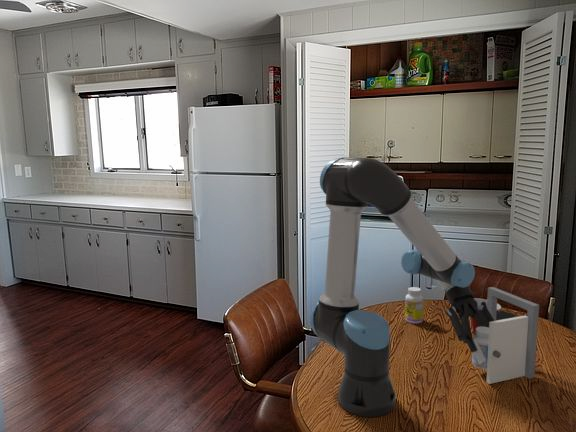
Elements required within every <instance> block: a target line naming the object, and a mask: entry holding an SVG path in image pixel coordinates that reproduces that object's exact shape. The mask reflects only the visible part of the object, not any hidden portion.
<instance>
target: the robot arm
mask: <svg viewBox="0 0 576 432" xmlns="http://www.w3.org/2000/svg"><path fill="white" fill-rule="evenodd" d="M319 186H320V189H321V190H322V192H323V193H324V195H326V196H325V206H327V208H328V209H329V211H330V213H329V214H330V215H329V226H328V228H329V229H328V240H327V241H328V242H327V252H326V253H327V254H326V255H327V256H326V257H327V258H326V271H325V279H324V280H325V281H324V292H323V294H320V296H319V298H318V301H317V303H316V304H315V307H313V308H312V309H311V313H310V318H309V319H310V321H309V322H310V327H311V329H312V332H313V333H314V334H315V335H316V336H317V337H318V338H319V339H320V340H321V341H322V342H324V343H326V344H328V345H329V346H331V347H332V348H333V349H335V350H336V351H338V352H340V354H342V355H343V356H344V373H343V376H342V379H341V382H340V384H339V387H338V392H337V396H338V397H337V400H338V403H339V406H340V407H341V408H343V410H345V411H346V412H348V413H351V414H353V415H356V416H360V417H365V418H366V417H367V418H375V417H381V416H385V415H387V414H389V413H391V412H392V411H393V410H394V409H395V406H396V393H395V388H394V386H393V383H392V380H391V377H390V351H391V350H390V349H391V348H390V346H391V345H390V344H391V333H390V326H389V323H388V321H387V319H385V317H384V316H382V315H381V314H379V313H377V312H374V311H373V310H372V311H368V310H367V309H360V300H359V298H357V297H356V294H355V293H356V280H357V279H356V278H357V269H358V256H359V255H358V254H359V243H360V242H359V241H360V240H359V239H360V230H361V219H362V213H363V212H364V211H365V210H366V209H367V208H368V205H371V206H372V207H374V208H375V209H376V210H377V211H378V212H379V213H380V214H381V215H382V216H385V217H388V218H389V219H390V220H391V221H392V222H393V223H394V225H395V226H396V227H397V228H398V229H399V230H400V232H401V233H402V234H403V235H404V236H405V237H406V238H407V240H408V241H409V242H410V243H411V245H412V246H414V248H415V249H409V250H406V251H405V252H403V254H402V256H401V261H400V263H401V268H402V270H403V271H404V272H405V273H407V274H410V275H411V274H412V275H422V276H425V277H428V278H430V279H434V280H437V281H438V282H439V284H440V287H441V288H442V291H443V292H444V293H445V296H446V299H447V301H448V303H449V304H450V305H451V306H450V307H448V308H447V309H446V310H445V314H446V315H447V317H448V318H449V320H450V322H451V325H452V327H453V329H454V332H455V334H456V337H457V339H458V341H459V342H463V344H467V346H468V348H469V350H470V352H471V353H472V352H474V354H475V357H476V359H477V361H478V363H479V364H482V363H483V362H485V361H486V358H485V356H484V354H483V352H482V350H481V348H480V346H479V344H478V342H477V340H476V339H473V334H472V333H473V332H472V328H471V325H470V323H471V322H470V319H471V318H472V319H474V320H475V321H476V322H477V323H478V324H479V326H480V327H481V326H482V327H488V328H489V322H492V321H494V319H493V317H492V316H491V314H490V312H489V311H488V309H487V306H486V303H485V302H482V303H478V302H477V301H476V300H474V299H475V298H474V293H473V291H472V290H471V289H472V288H471V287H470V285H471V284H472V283H473V281H474V279H475V275H476V271H475V266H474V265H473V264H472V263H471V262H468V261H466V260H461V259H460V258H459V256H458V255H457V254H456V253H455V252H454V251H453V249H452V248H451V247H450V246H449V244H448V243H447V242H446V240H445V239H444V238H443V237H442V235H441V234H440V233H439V231H438V230H437V229H436V228H435V227H434V225H433V224H432V223H431V221H430V220H429V219H428V218H427V216H426V215H425V214H424V213H423V211H422V210H421V208H419V206H418V205H417V204H416V203H415V201H414V200H413V199H412V195H413V194H412V191H411V189H410V188H409V187H408V185H407V184H406V183H405V182H404V180H403V179H401V177H400V176H399V175H398V174H397V173H396V172H395V171H394V170H393V169H391V167H389V166H388V165H387V164H386V163H384V162H382V161H380V160H378V159H377V158H376V159H375V158H372V157H348V156H344V157H337V158H334V159H332V160H330V161H328V163H327V164H325V165H324V166H323V168H322V170H321V172H320V177H319ZM477 308H478V309H477ZM475 314H476V315H475ZM469 318H470V319H469Z"/></svg>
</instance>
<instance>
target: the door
mask: <svg viewBox="0 0 576 432" xmlns="http://www.w3.org/2000/svg"><path fill="white" fill-rule="evenodd" d="M527 333H528V317H527V315H519V316H517V317H514V318H508V319H503V320H497V321H492V322H489V342H488V362H487V370H486V383H488V384H489V385H491V384H495V383H499V382H503V381H504V382H505V381H508V380H513V379H517V378H522V377H525V364H526V348H527Z"/></svg>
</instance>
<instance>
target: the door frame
mask: <svg viewBox="0 0 576 432" xmlns="http://www.w3.org/2000/svg"><path fill="white" fill-rule="evenodd" d="M498 299H499V300H502V301H504V302H506V303H508V304H511V305H514V306H517V308H518V307H519V308H521V309H524V310H526V311H527V314H526V316H527V317H528V333H527V348H526V364H525V376H524V377H525V378H527V379H529V380H530V379H533V378H535V372H536V360H537V359H536V358H537V357H536V355H537V346H538V345H537V343H538V330H539V329H538V328H539V314H540V304H538V303H535V302H532V301H530V300H527V299H524V298H522V297H520V296H518V295H515V294H512V293H510V292H508V291H504V290H503V289H499V288H497V287H495V286H492V287H487V298H486V300H487V309H488V311H489V312H490V314H491V316H492V317H493V319H494V321H496V313H497V303H498Z"/></svg>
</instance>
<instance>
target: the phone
mask: <svg viewBox="0 0 576 432" xmlns="http://www.w3.org/2000/svg"><path fill="white" fill-rule="evenodd" d="M514 317H518V314H515V313H512V312H509V311H506V310H504V309H503V310H501V309H500V310H499V312H498V314H497V316H496V321H497V320H503V319H508V318H514Z"/></svg>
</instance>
